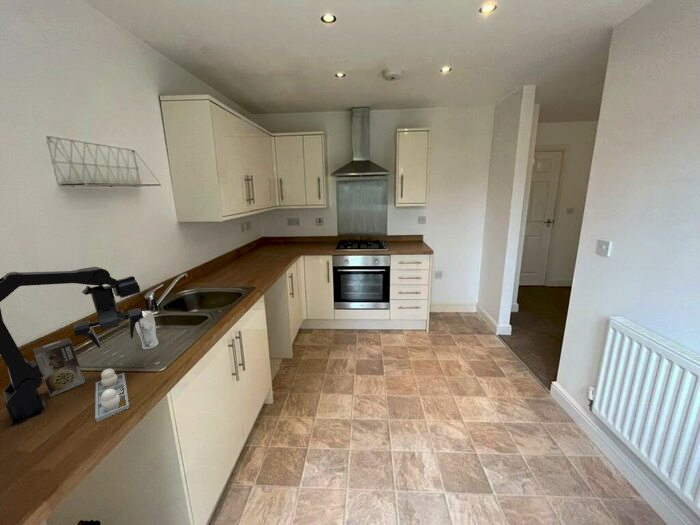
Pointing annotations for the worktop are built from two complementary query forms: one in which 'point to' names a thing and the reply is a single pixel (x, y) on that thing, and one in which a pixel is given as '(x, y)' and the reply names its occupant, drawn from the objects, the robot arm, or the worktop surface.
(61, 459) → the worktop surface
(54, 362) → the coffee box
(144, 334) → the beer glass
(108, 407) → the white drawer knob
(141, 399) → the worktop surface
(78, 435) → the worktop surface
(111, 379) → the cream stacked ball figurine
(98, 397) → the gray divided compartment tray
